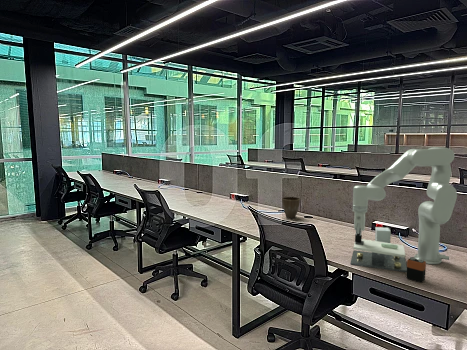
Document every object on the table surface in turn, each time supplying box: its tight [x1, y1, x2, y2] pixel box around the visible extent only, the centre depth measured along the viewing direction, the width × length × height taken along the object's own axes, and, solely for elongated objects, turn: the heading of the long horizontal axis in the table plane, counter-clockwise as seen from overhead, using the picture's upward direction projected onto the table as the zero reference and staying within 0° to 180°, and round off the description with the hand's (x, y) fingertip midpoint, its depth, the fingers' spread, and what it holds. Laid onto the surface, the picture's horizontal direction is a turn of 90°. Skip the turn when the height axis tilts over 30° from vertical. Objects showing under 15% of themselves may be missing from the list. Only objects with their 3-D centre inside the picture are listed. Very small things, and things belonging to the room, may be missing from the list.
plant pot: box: [281, 196, 301, 219], centre depth 265 cm, size 15×15×16 cm
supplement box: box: [374, 226, 392, 243], centre depth 186 cm, size 7×7×13 cm
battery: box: [405, 256, 427, 283], centre depth 147 cm, size 4×7×10 cm, turn 43°
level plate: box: [353, 238, 406, 258], centre depth 169 cm, size 24×16×4 cm, turn 65°
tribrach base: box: [350, 249, 407, 273], centre depth 170 cm, size 26×20×6 cm
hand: (358, 241), depth 173 cm, fingers closed
